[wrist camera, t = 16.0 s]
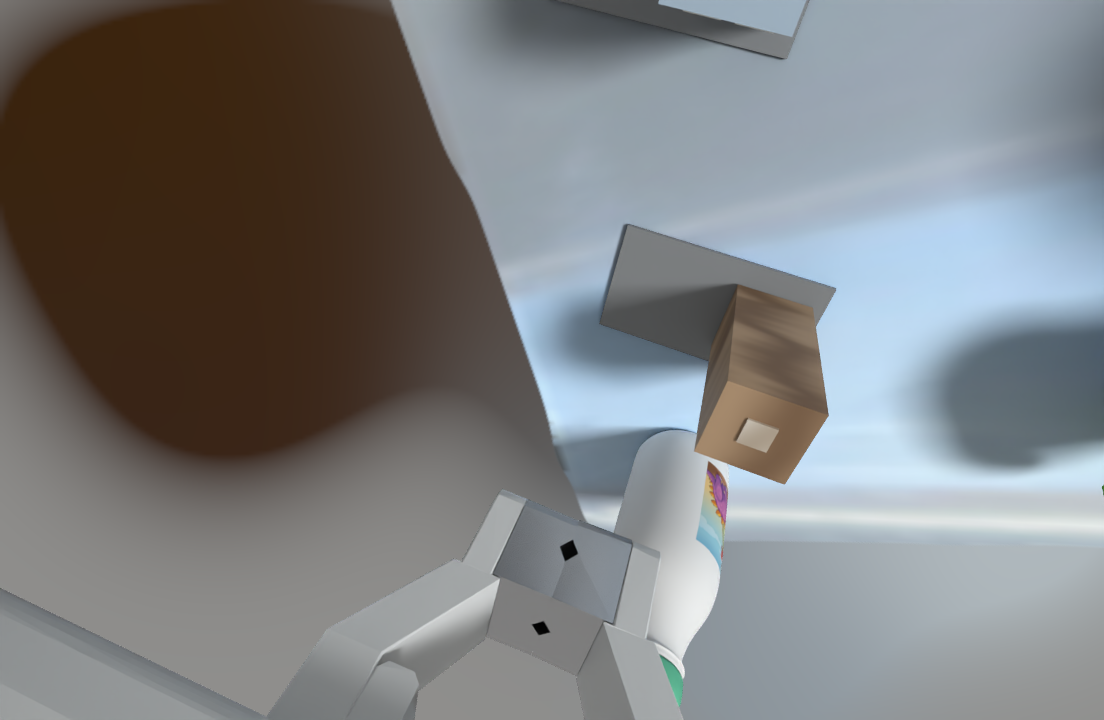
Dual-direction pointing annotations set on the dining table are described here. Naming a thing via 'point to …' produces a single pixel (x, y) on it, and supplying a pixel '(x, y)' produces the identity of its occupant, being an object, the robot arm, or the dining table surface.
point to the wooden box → (762, 386)
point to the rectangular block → (747, 12)
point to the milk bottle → (677, 537)
